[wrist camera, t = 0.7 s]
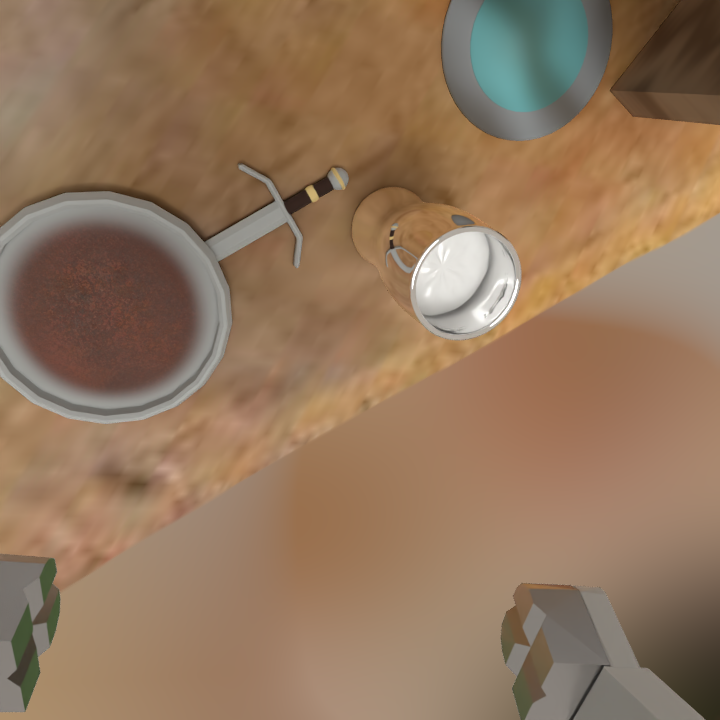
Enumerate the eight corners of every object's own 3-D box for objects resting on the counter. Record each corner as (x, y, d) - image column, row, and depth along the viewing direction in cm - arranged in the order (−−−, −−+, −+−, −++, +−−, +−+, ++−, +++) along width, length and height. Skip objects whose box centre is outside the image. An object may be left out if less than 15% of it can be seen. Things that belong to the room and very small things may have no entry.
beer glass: (325, 231, 48) (380, 292, 35) (391, 159, 47) (473, 194, 34) (389, 290, 51) (461, 366, 38) (451, 224, 50) (548, 279, 37)
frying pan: (403, 278, 49) (77, 470, 48) (391, 268, 52) (82, 450, 51) (291, 54, 41) (-100, 279, 40) (284, 55, 44) (-84, 267, 43)
